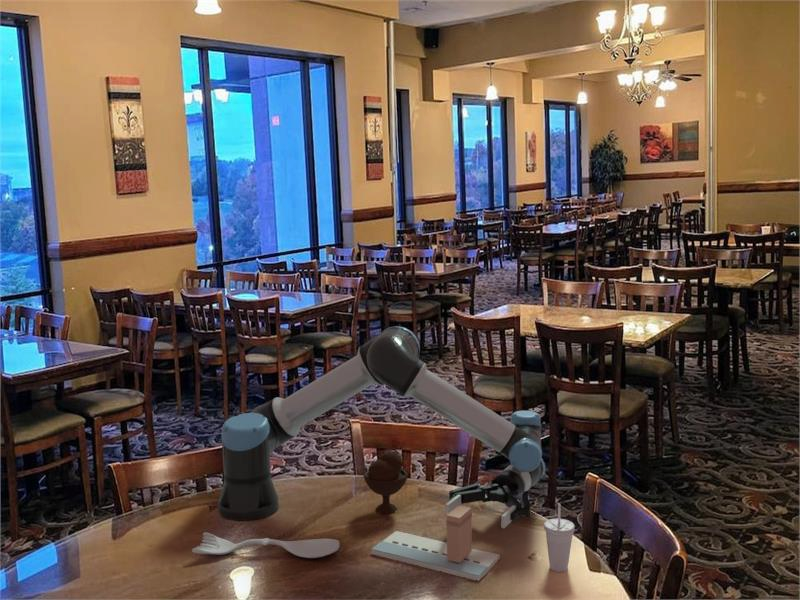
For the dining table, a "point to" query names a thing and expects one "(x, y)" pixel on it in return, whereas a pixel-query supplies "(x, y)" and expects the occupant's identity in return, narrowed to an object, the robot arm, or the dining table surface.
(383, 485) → the ice cream bowl
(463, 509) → the small tan carton
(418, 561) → the board
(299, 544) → the spoon
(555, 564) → the smoothie
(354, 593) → the dining table surface
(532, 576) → the dining table surface
